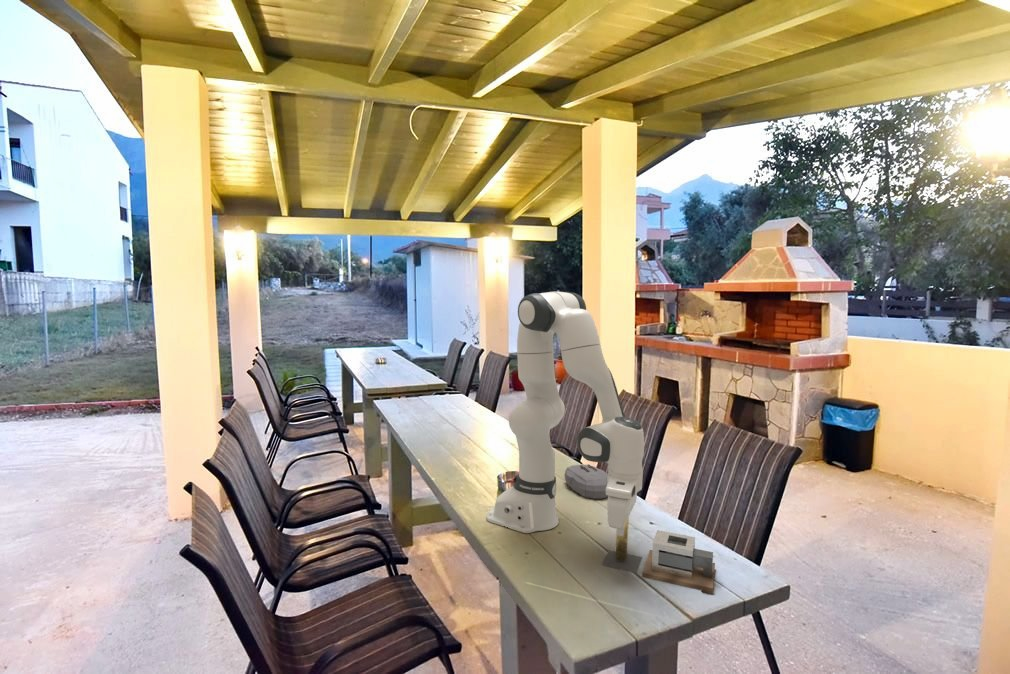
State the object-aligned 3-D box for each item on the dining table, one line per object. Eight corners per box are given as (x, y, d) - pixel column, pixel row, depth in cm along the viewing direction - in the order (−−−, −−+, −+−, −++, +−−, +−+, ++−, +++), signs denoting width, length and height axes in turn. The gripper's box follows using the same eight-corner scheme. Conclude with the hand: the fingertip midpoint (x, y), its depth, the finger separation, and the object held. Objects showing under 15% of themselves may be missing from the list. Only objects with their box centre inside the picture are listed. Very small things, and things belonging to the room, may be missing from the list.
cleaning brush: (558, 483, 197) (584, 503, 178) (559, 461, 196) (585, 479, 177) (594, 479, 202) (622, 498, 183) (594, 458, 201) (623, 475, 182)
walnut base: (641, 578, 131) (642, 572, 131) (649, 555, 143) (649, 549, 142) (712, 594, 124) (713, 588, 124) (714, 568, 136) (714, 563, 136)
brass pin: (614, 558, 138) (617, 499, 136) (616, 553, 140) (619, 495, 139) (625, 561, 136) (628, 501, 135) (627, 555, 139) (630, 497, 138)
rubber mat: (601, 567, 136) (601, 565, 136) (608, 551, 144) (608, 549, 144) (636, 574, 132) (636, 573, 132) (642, 558, 140) (642, 557, 140)
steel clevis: (651, 569, 132) (652, 542, 132) (656, 555, 139) (657, 530, 139) (711, 582, 126) (712, 554, 126) (712, 567, 134) (713, 540, 133)
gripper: (620, 466, 147) (618, 514, 149) (604, 491, 129) (601, 545, 130) (643, 470, 145) (640, 518, 146) (630, 495, 126) (627, 550, 127)
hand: (622, 531), depth 138 cm, fingers closed on brass pin, 3 cm apart
